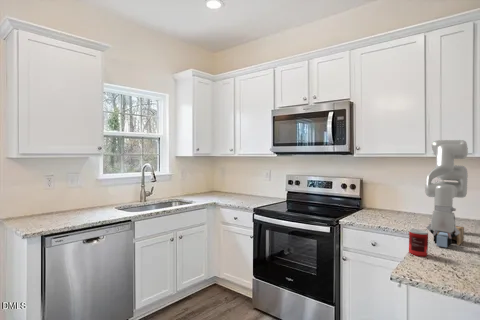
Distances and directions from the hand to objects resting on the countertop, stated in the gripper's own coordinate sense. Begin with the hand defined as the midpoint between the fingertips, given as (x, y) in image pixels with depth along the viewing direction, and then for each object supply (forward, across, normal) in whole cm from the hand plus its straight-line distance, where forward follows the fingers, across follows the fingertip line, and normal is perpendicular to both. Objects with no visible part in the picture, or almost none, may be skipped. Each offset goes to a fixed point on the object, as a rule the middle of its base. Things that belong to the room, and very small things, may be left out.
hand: (442, 244), depth 154 cm
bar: (+1, 0, -4) cm, 4 cm away
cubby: (+2, 0, -17) cm, 17 cm away
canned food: (+2, +4, +24) cm, 25 cm away
